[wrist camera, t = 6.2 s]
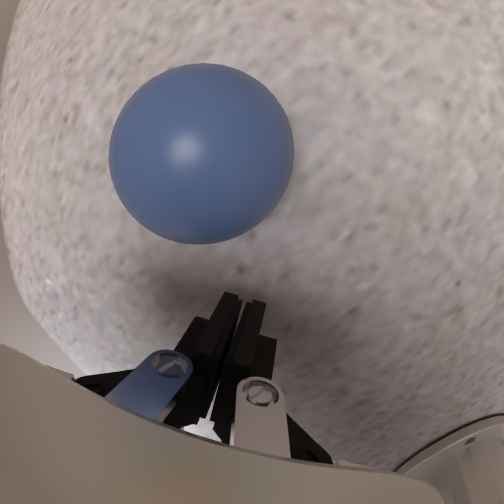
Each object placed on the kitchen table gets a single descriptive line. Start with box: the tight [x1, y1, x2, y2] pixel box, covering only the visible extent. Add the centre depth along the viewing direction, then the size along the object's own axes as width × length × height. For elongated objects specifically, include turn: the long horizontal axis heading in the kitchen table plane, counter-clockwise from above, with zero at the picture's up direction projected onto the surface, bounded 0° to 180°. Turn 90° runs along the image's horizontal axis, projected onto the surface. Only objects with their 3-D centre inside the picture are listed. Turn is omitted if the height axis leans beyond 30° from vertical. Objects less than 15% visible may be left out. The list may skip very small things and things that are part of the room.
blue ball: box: [109, 63, 294, 244], centre depth 9 cm, size 6×6×6 cm
